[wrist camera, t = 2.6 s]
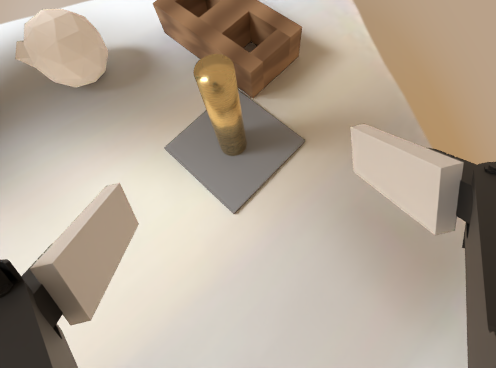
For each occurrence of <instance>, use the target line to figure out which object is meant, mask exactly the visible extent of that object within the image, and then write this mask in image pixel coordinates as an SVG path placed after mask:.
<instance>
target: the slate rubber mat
mask: <svg viewBox="0 0 496 368" xmlns="http://www.w3.org/2000/svg"><path fill="white" fill-rule="evenodd" d="M238 93H239V99H240V105H241V111H242V117H243V123H244V129H245V135H246V141H247V145H246V148H245V150H244V151H243V152H242V153H241V154H239V155H237V156H229V155H226V154H225V153H223V151H222V150H221V148H220V145H219V142H218V139H217V137H216V134H215V131H214V128H213V126H212V123H211V120H210V118H209V115H208V112H207V110H206V111H205V112H204V113H203V114H202V115H200V116H199V117H198V118H197V119H196V120H195V121H194V122H193V123H191V124H190V125H189V126H188V127H187V128H186V129H185V130H184V131H182V132H181V133H180V134H179V135H178V136H177V137H176V138H175V139H173V140H172V141H171V142H170V143H169V144H168V145H167V146H166V147H164V148H165V149H166V150H167V151H168V152H169V153H170V154H171V155H172V156H173V157H174V158H175V159H176V160H177V161H178V162H179V163H180V164H181V165H183V166H184V167H185V168H186V169H187V170H188V171H189V172H190V173H191V174H192V175H193V176H194V177H195V178H196V179H197V180H198V181H199V182H201V183H202V184H203V185H204V186H205V187H206V188H207V189H208V190H209V191H210V192H211V193H212V194H213V195H214V196H215V197H216V198H217V199H219V200H220V201H221V202H222V203H223V204H224V205H225V206H226V207H227V208H228V209H229V210H230V211H231V212H232V213H233V214H234V213H235V212H236V211H237V210H238V209H239V208H240V207H241V206H242V205H243V204H244V203H245V202H246V201H247V200H248V199H249V198H250V197H251V196H252V195H253V194H254V193H255V192H256V191H257V190H258V189H259V188H260V187H261V186H262V185H263V184H264V183H265V182H266V181H267V180H268V179H269V178H270V177H271V176H272V175H273V174H274V173H275V172H276V170H277V169H278V168H279V167H280V166H281V165H282V164H283V163H284V162H285V161H286V160H287V159H288V158H289V157H290V156H291V155H292V154H293V153H294V152H295V151H296V150H297V149H298V148H299V147H300V146H301V145H302V144H303V143H304V142H305V140H304V139H303V138H302V137H300V136H299V135H298V134H296V133H295V132H294V131H292V130H291V129H290V128H288V127H287V126H286V125H284V124H283V123H282V122H280V121H279V120H278V119H276V118H275V117H274V116H272V115H271V114H270V113H268V112H267V111H266V110H264V109H263V108H262V107H260V106H259V105H258V104H256V103H255V102H254V101H252V100H251V99H250V98H248V97H247V96H246V95H244V94H243V93H242V92H240V91H239V90H238Z"/></svg>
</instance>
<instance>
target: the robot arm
mask: <svg viewBox="0 0 496 368" xmlns="http://www.w3.org/2000/svg"><path fill="white" fill-rule="evenodd" d="M351 144H352V161H353V172H354V173H355V174H357V175H358V176H359V177H361V178H362V179H363V180H364V181H366V182H367V183H368V184H370V185H371V186H372V187H373V188H375V189H376V190H377V191H379V192H380V193H381V194H382V195H384V196H385V197H386V198H388V199H389V200H390V201H391V202H393V203H394V204H395V205H397V206H398V207H399V208H400V209H402V210H403V211H404V212H406V213H407V214H408V215H409V216H411V217H412V218H413V219H415V220H416V221H417V222H418V223H420V224H421V225H422V226H424V227H425V228H426V229H427V230H429V231H430V232H431V233H433V234H434V235H439V234H443V233H447V232H451V231H455V227H456V219H457V217H459V218H461V219H462V220H464V221H465V222H466V225H465V232H464V239H463V246H462V248H465V264H466V305H467V346H468V368H496V162H487V163H482V164H478V165H476V164H474V163H471V162H468V161H466V160H463V159H460V158H458V157H454V156H452V155H449V154H446V153H445V152H442V151H439V150H436V149H431V148H425V147H423V146H420V145H418V144H415V143H413V142H410V141H407V140H405V139H402V138H400V137H397V136H395V135H392V134H390V133H387V132H384V131H382V130H379V129H377V128H374V127H372V126H369V125H367V124H360V125H355V126H351ZM137 227H138V222H137V219H136V217H135V215H134V213H133V211H132V208H131V206H130V204H129V202H128V200H127V198H126V195H125V193H124V191H123V189H122V187H121V185H120V183H117V184H113V185H109V186H106V187H105V188H104V189H103V190H102V191H101V192H100V193H99V194H98V195H97V196H96V198H95V199H94V200H93V201H92V202H91V203H90V204H89V205H88V206H87V207H86V208H85V209H84V211H83V212H82V213H81V214H80V215H79V216H78V217H77V218H76V219H75V220H74V221H73V222H72V224H71V225H70V226H69V227H68V228H67V229H66V230H65V231H64V232H63V233H62V234H61V235H60V236H59V238H58V239H57V240H56V241H55V242H54V243H53V244H51V245H50V246H49V247H48V248H47V250H46V251H45V252H44V254H42V255H41V256H40V257H39V258H38V260H37V261H35V262H34V263H33V265H32V266H31V267H30V268H29V269H28V270H27V271H26V272H25V273H24V274H23V275H22V276H20V274H19V273H18V272H17V270H16V269H15V268H14V266H13V265H12V264H11V262H10V261H9V260H7V259H6V260H0V368H78V367H77V364H76V362H75V360H74V357H73V355H72V353H71V351H70V348H69V346H68V344H67V341H66V339H65V337H64V335H63V332H62V330H61V329H60V328H59V326H58V325H57V322H58V320H59V319H60V317H61V316H62V314H63V316H64V317H65V318H66V320H67V321H68V322H69V324H70V325H74V324H78V323H82V322H86V321H90V320H91V319H92V317H93V315H94V313H95V311H96V309H97V307H98V305H99V303H100V301H101V299H102V297H103V295H104V293H105V291H106V289H107V287H108V285H109V283H110V281H111V279H112V277H113V275H114V273H115V271H116V269H117V267H118V265H119V263H120V261H121V259H122V257H123V255H124V253H125V251H126V249H127V247H128V245H129V243H130V241H131V239H132V237H133V235H134V233H135V231H136V229H137Z"/></svg>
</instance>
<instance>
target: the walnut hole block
mask: <svg viewBox="0 0 496 368" xmlns="http://www.w3.org/2000/svg"><path fill="white" fill-rule="evenodd" d="M153 5H154V8H155V10H156V13H157V15H158V17H159V20H160V22H161V24H162V27H163V29H164V32H165V33H166V34H167V35H169V36H170V37H171V38H173V39H174V40H175V41H177V42H178V43H179V44H181V45H182V46H183V47H185V48H186V49H187V50H189V51H190V52H191V53H193V54H194V55H195V56H197V57H198V58H199V59H202V58H203V57H205V56H207V55H211V54H222V55H225V56H227V57H228V58H230V59H231V60H232V62H233V64H234V69H235V75H236V81H237V87H238V88H240V89H241V90H242V91H244V92H245V93H246V94H248V95H249V96H250V97H252V98H254V97H255V96H256V95H257V94H258V93H259V92H260V91H261V90H262V89H263V88H265V87H266V86H267V85H268V84H269V83H270V82H271V81H272V80H273V79H274V78H275V77H276V76H278V75H279V74H280V73H281V72H282V71H283V70H284V69H285V68H286V67H287V66H288V65H290V64H291V63H292V62H293V61H294V60H295V59H296V58H297V57H298V56H299V48H300V40H301V32H302V27H301V26H300V25H298V24H296V23H295V22H293V21H291V20H290V19H288V18H286V17H285V16H283V15H281V14H280V13H278V12H276V11H275V10H273V9H271V8H270V7H268V6H266V5H264V4H263V3H261V2H259V1H258V0H157V1H155V2H154V3H153ZM249 42H253V43H255V44H256V45H258V46H257V47H256V48H255V49H254V50H252V51H251V52H248V51H247V50H245V49H244V47H245V46H246V45H247V44H248V43H249Z"/></svg>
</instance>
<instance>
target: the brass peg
mask: <svg viewBox="0 0 496 368" xmlns="http://www.w3.org/2000/svg"><path fill="white" fill-rule="evenodd" d="M194 77H195V79H196V82H197V85H198V87H199V90H200V93H201V96H202V98H203V101H204V104H205V107H206V109H207V112H208V115H209V118H210V120H211V123H212V126H213V128H214V131H215V134H216V137H217V139H218V142H219V145H220V148H221V150H222V151H223V153H225V154H226V155H229V156H237V155H239V154H241V153H242V152H243V151H244V150H245V148H246V145H247V141H246V135H245V129H244V123H243V117H242V111H241V105H240V99H239V93H238V87H237V81H236V75H235V69H234V64H233V62H232V60H231V59H230V58H228V57H227V56H225V55H222V54H211V55H207V56H205V57H203V58H202V59H200V60H199V61H198V62H197V64H196V65H195V68H194Z"/></svg>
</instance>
